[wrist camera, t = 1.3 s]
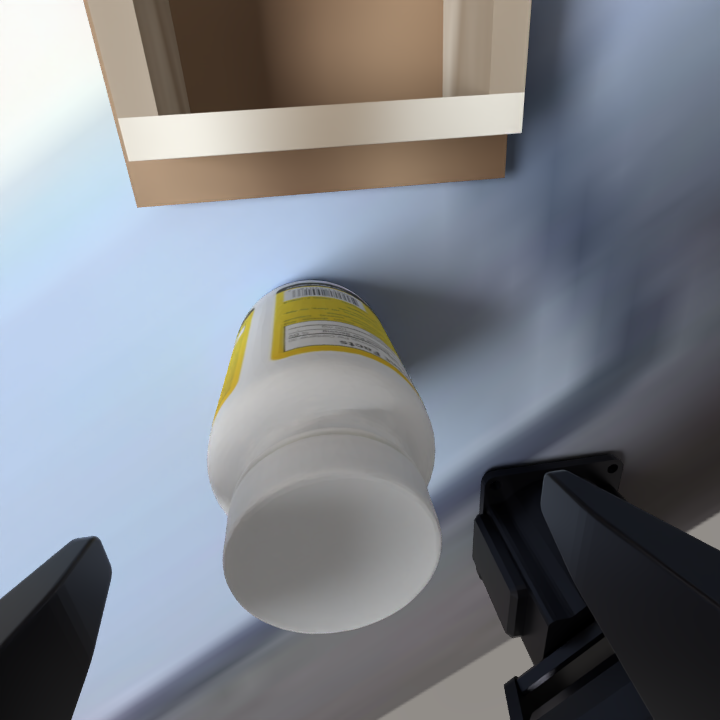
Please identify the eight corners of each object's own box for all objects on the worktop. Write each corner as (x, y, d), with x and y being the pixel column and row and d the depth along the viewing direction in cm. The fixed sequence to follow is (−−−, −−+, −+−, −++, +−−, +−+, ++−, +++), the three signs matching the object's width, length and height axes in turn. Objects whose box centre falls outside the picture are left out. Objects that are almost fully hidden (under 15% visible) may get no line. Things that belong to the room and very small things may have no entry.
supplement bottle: (293, 433, 18) (292, 695, 10) (206, 328, 16) (99, 544, 7) (409, 365, 18) (522, 576, 9) (335, 246, 16) (390, 372, 7)
